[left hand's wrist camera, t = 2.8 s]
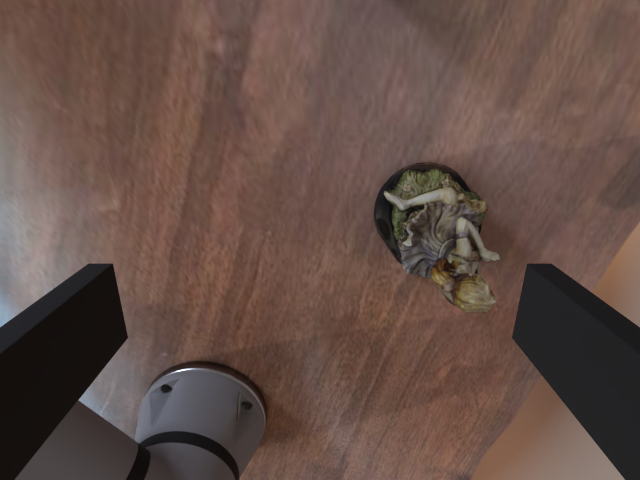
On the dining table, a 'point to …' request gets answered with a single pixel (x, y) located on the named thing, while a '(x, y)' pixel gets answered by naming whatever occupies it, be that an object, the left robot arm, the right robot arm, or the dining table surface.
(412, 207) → the figurine
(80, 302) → the left robot arm
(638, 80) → the dining table surface
